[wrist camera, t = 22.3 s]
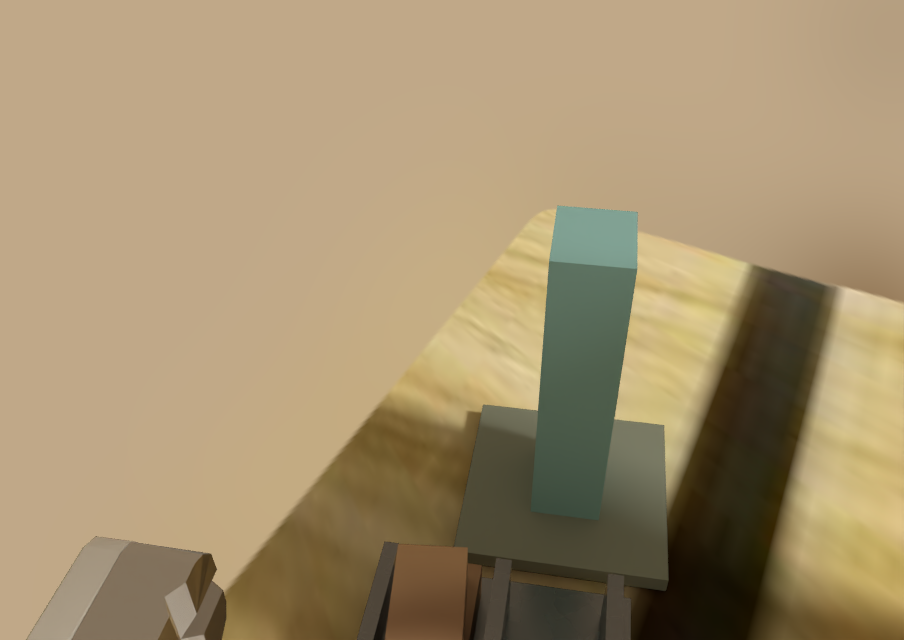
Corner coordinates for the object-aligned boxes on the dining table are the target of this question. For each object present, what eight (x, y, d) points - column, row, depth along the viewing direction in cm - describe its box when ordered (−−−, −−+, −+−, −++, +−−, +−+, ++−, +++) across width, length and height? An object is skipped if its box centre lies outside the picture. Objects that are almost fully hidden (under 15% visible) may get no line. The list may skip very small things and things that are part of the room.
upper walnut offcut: (400, 573, 44) (398, 544, 43) (467, 577, 44) (467, 547, 43) (382, 704, 39) (379, 676, 37) (459, 709, 39) (459, 680, 37)
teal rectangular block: (538, 449, 54) (557, 205, 43) (601, 457, 54) (637, 212, 43) (530, 511, 51) (549, 261, 39) (598, 520, 50) (637, 269, 39)
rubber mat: (483, 415, 58) (483, 404, 58) (661, 435, 57) (664, 425, 56) (453, 561, 49) (453, 550, 49) (665, 591, 47) (668, 580, 47)
